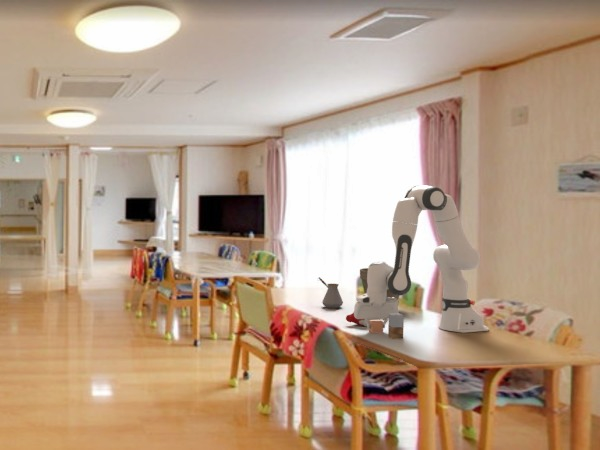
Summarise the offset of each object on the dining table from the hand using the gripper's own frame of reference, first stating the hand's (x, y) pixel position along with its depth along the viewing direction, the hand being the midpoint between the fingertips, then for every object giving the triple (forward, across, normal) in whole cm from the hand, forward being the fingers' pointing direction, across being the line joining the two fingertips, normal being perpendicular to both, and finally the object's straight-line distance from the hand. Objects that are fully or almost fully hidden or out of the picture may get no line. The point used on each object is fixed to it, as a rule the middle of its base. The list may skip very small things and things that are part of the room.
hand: (376, 328), depth 280 cm
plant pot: (+2, -22, -56) cm, 60 cm away
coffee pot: (+2, +5, -70) cm, 70 cm away
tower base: (+2, -5, +12) cm, 13 cm away
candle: (+2, +2, -15) cm, 15 cm away
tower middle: (-3, -5, +12) cm, 13 cm away
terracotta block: (+2, 0, 0) cm, 2 cm away
